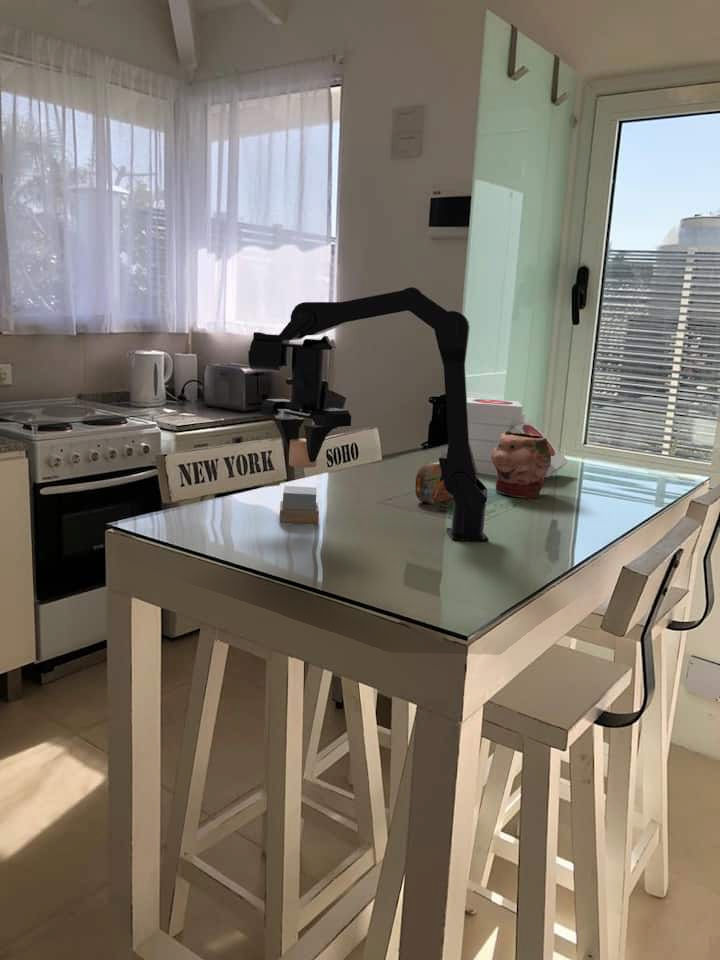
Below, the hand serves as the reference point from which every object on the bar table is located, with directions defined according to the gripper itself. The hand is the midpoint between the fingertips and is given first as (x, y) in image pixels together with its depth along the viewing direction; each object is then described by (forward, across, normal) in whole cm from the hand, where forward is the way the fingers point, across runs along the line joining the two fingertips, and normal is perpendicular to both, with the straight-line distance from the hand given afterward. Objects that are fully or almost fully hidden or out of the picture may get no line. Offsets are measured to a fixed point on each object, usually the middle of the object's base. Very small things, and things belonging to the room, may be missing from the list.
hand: (302, 459), depth 145 cm
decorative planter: (+12, -9, -60) cm, 62 cm away
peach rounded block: (+1, 0, 0) cm, 1 cm away
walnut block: (+12, 0, 0) cm, 12 cm away
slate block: (+9, 0, 0) cm, 9 cm away
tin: (+12, -3, -36) cm, 38 cm away
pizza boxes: (+12, +9, -81) cm, 82 cm away
